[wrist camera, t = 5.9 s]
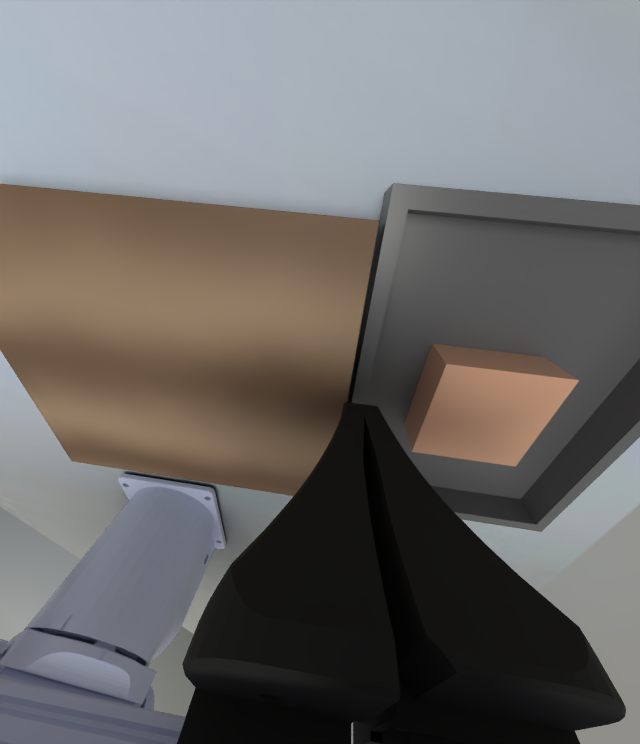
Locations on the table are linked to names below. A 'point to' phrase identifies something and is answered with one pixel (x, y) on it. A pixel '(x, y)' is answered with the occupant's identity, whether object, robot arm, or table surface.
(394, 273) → the tray
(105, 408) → the platform
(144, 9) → the table surface
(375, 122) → the table surface
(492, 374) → the tile
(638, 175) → the table surface
